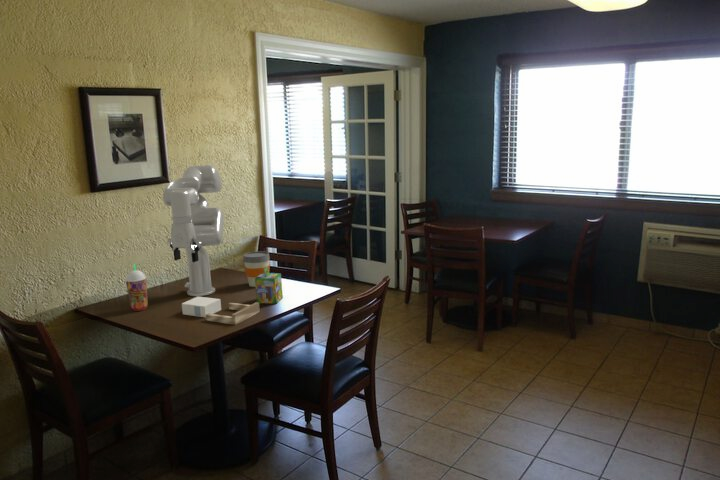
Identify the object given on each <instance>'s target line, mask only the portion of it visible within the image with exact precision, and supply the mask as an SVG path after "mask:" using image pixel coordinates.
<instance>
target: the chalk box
mask: <svg viewBox="0 0 720 480" xmlns="http://www.w3.org/2000/svg"><path fill="white" fill-rule="evenodd" d="M266 270H267V271H268V273H266ZM255 285H256V287H255V293H256V302H258V303H259V305H261V304H265V305H266V304H271V305H273V304H274V305H276V304H278V303H279V302H280V301H281V300H283V297H284V295H283V287H282V285H283V283H282V273H276V272H270V269H269V270H268V267H266V268H265V269H264V273H262V274H260V275H259V276H257V277H256V278H255Z"/></svg>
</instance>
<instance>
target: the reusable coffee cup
mask: <svg viewBox="0 0 720 480" xmlns="http://www.w3.org/2000/svg"><path fill="white" fill-rule="evenodd" d="M270 259H271V258H270V252H268V251H263V250H261V251H260V250H259V251H249V252H246V253H244V254H243V261H242V262H244V271H245V276H246V277H247V283H248V286H249V287H252V288H256V285H255V278H256V277H257V276H259V275H260V274H262V273H264V269H265V268H266V267H268V270H269V271H270V268H271V267H270V265H271V264H270ZM266 273H268V271H267V270H266Z"/></svg>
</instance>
